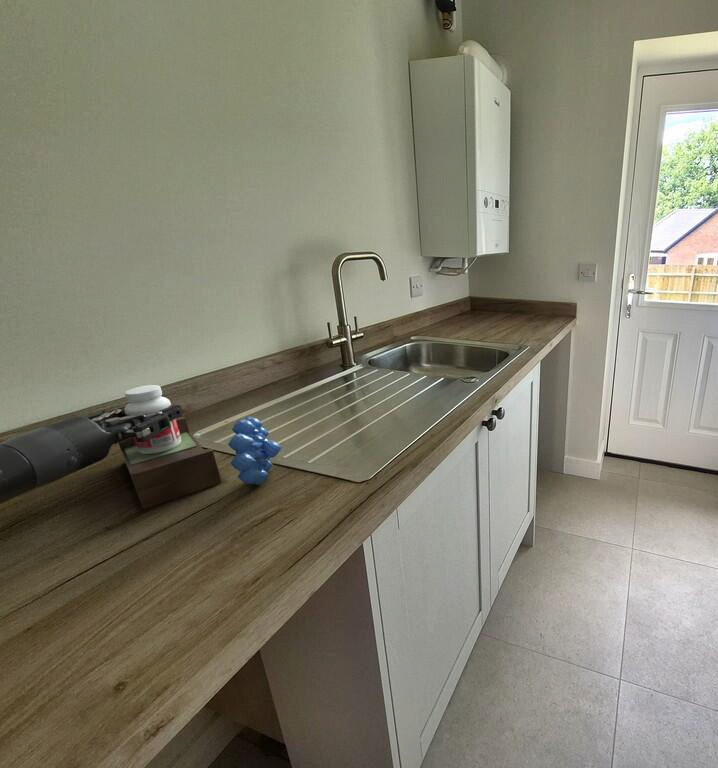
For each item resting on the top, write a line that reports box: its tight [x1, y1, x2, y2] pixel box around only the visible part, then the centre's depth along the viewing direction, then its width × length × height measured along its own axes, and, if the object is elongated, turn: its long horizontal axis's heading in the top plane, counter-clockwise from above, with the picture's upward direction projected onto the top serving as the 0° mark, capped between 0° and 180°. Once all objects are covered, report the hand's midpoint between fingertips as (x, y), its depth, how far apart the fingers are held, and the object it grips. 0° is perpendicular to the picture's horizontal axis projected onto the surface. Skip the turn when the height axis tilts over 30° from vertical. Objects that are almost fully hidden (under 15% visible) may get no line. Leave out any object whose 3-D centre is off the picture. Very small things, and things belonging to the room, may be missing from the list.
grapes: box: [227, 416, 283, 486], centre depth 66 cm, size 12×7×12 cm, turn 16°
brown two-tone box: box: [118, 416, 222, 510], centre depth 70 cm, size 10×21×6 cm, turn 48°
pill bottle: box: [123, 384, 181, 454], centre depth 72 cm, size 6×6×11 cm
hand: (162, 408), depth 74 cm, fingers closed on pill bottle, 6 cm apart
